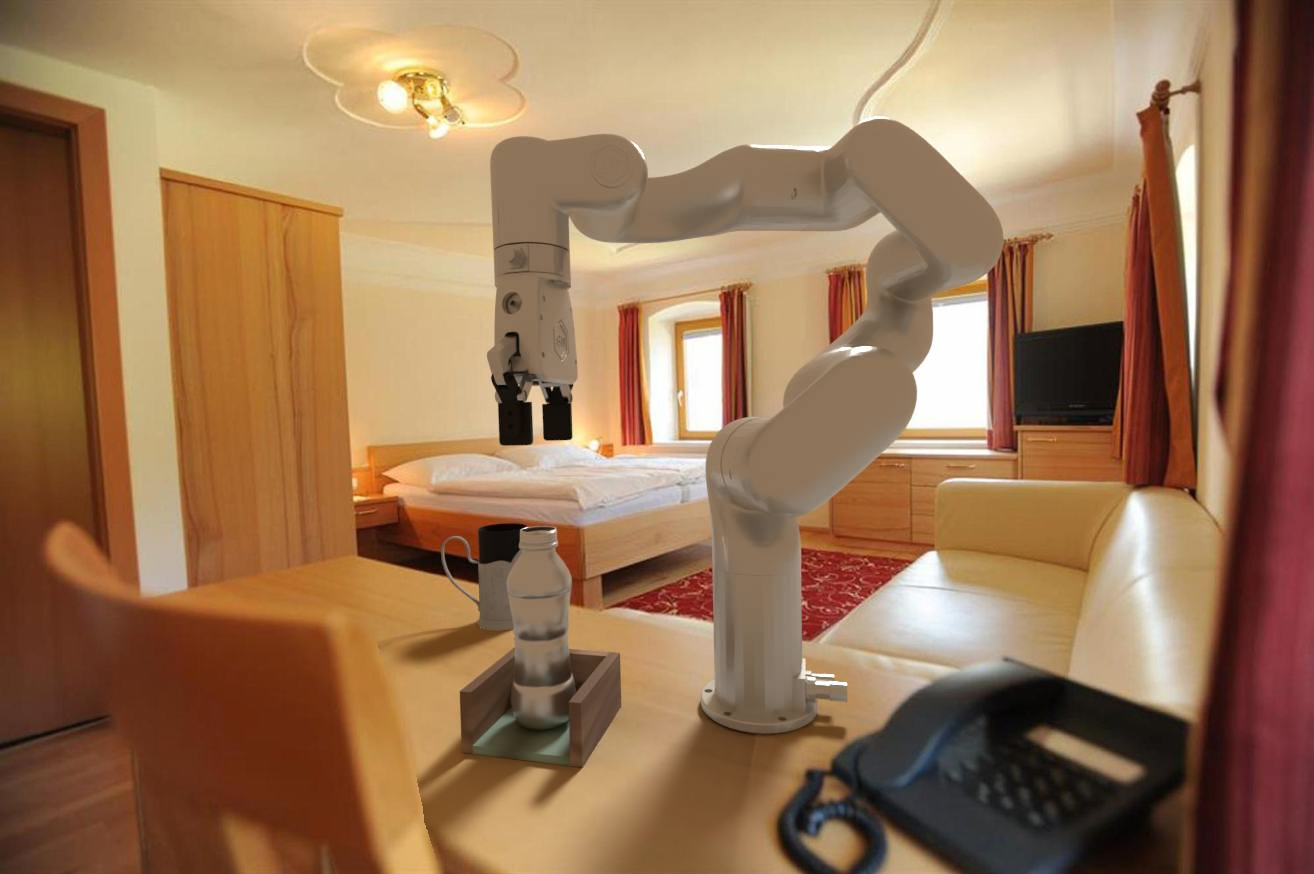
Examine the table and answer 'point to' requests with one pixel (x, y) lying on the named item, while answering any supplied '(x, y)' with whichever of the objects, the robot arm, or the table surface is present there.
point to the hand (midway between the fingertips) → (538, 442)
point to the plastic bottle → (540, 631)
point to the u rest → (568, 744)
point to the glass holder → (493, 572)
